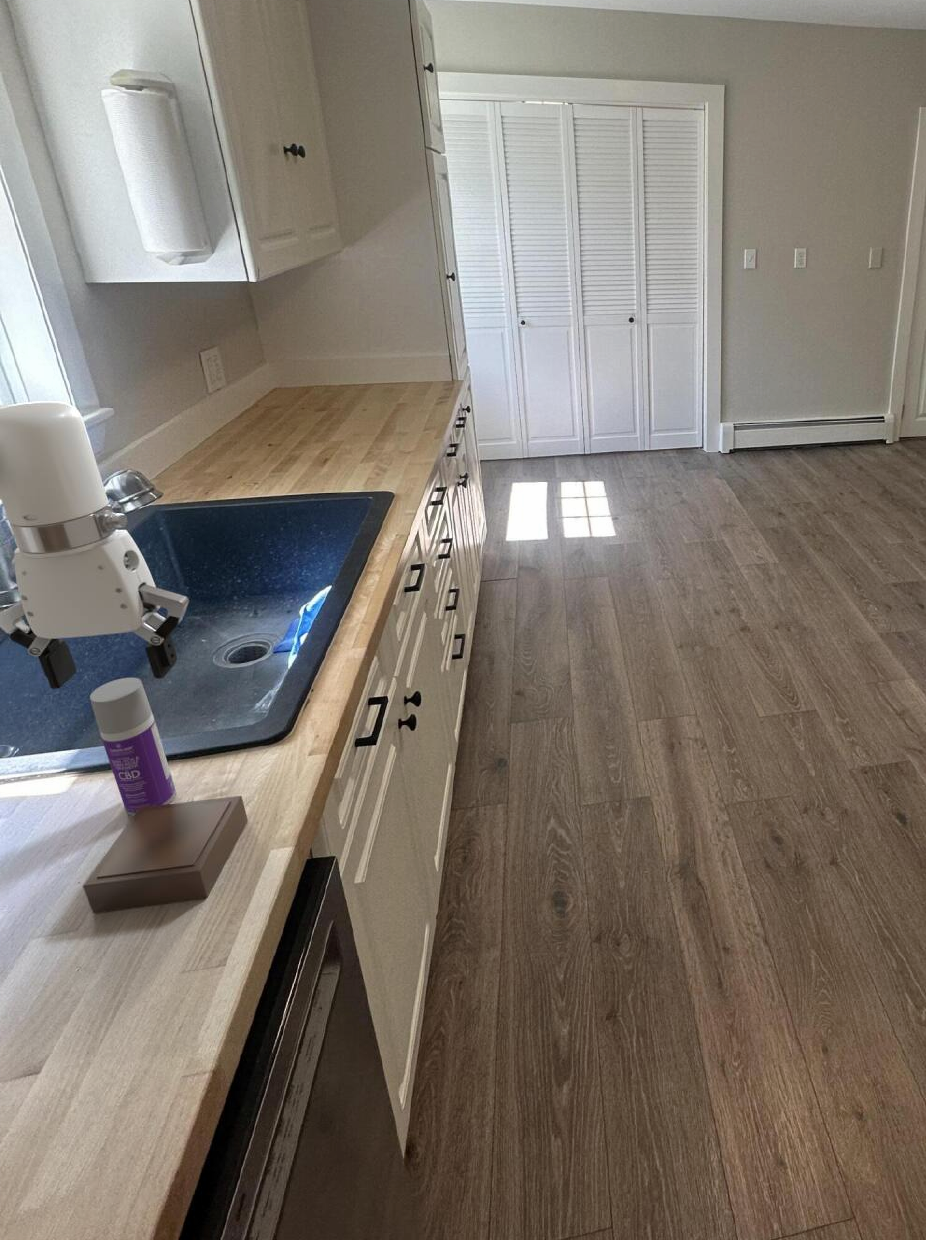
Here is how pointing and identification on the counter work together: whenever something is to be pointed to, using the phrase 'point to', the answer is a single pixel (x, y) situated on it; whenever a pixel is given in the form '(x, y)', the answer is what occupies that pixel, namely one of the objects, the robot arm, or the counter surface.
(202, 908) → the counter surface
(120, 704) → the container
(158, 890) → the riser
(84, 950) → the counter surface
